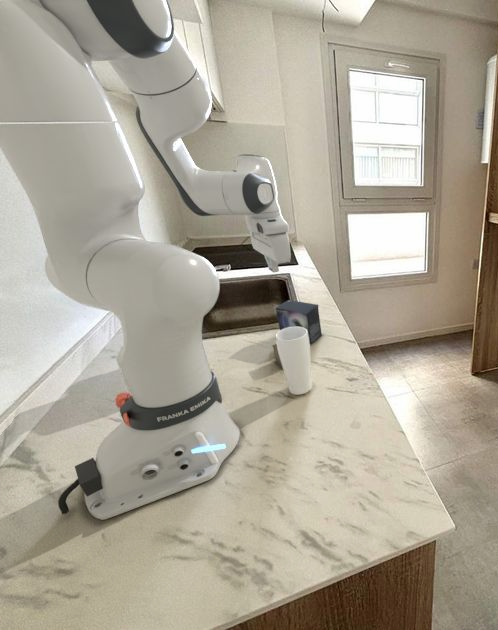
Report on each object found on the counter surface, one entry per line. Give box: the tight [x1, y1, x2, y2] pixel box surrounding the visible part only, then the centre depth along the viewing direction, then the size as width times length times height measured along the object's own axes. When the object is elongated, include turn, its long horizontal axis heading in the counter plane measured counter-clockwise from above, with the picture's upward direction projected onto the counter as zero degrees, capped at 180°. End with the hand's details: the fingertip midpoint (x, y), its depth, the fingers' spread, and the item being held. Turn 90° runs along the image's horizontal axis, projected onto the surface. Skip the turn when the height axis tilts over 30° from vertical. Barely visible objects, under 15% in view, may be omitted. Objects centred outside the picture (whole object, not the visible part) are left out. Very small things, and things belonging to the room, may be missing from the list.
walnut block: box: [272, 343, 283, 369], centre depth 87 cm, size 5×5×5 cm
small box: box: [275, 299, 323, 345], centre depth 98 cm, size 11×6×10 cm, turn 73°
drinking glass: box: [274, 326, 313, 396], centre depth 75 cm, size 7×7×15 cm
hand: (274, 270), depth 95 cm, fingers closed
